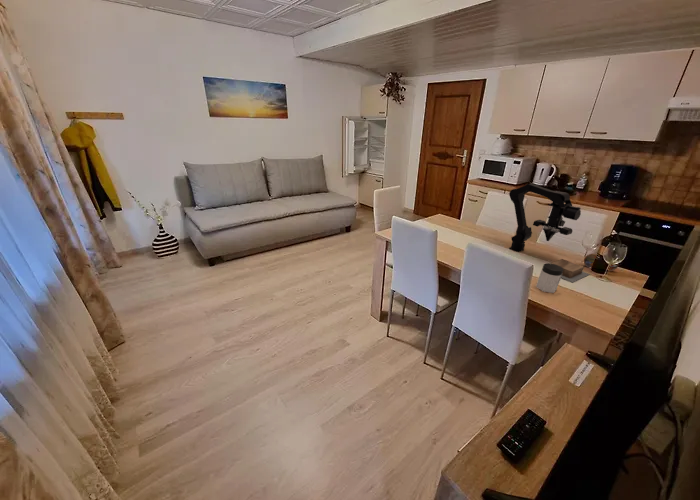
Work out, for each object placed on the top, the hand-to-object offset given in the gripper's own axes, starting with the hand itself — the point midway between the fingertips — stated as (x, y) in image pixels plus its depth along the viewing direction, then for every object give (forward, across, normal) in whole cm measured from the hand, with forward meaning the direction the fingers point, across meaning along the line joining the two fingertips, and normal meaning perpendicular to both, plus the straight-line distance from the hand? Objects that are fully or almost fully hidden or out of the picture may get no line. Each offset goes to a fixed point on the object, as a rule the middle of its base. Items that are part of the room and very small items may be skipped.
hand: (547, 240), depth 171 cm
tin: (+12, -22, -17) cm, 30 cm away
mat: (+12, -17, +5) cm, 21 cm away
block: (+10, -10, +5) cm, 15 cm away
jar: (+12, -20, +32) cm, 40 cm away
